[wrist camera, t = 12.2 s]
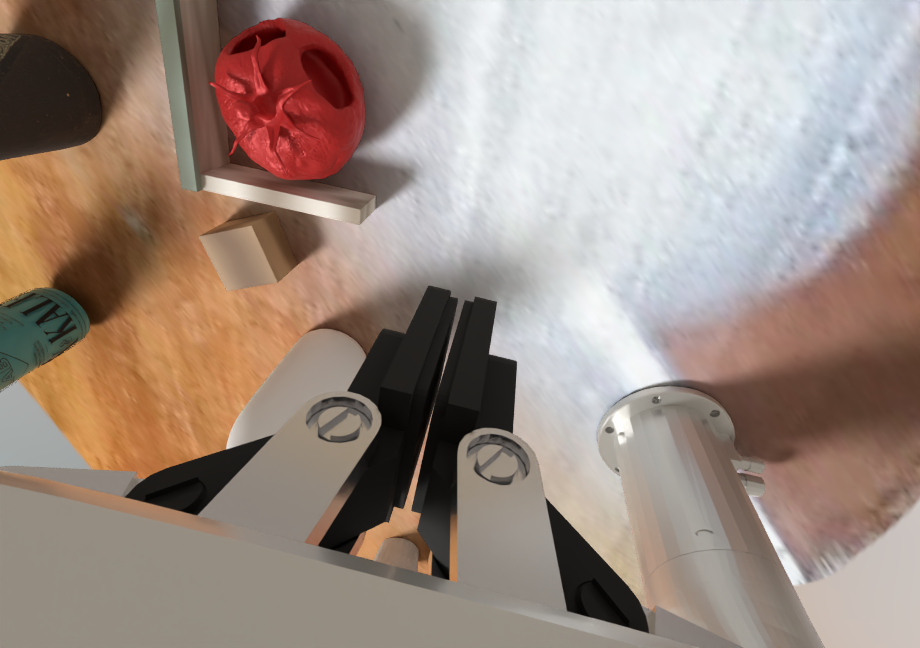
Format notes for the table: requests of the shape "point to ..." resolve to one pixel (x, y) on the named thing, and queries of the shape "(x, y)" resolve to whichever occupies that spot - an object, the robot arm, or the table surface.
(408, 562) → the house plant
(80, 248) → the table surface
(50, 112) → the container
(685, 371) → the table surface
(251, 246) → the teak block
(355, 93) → the pomegranate
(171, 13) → the display stand
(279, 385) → the milk bottle
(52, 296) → the beverage bottle
